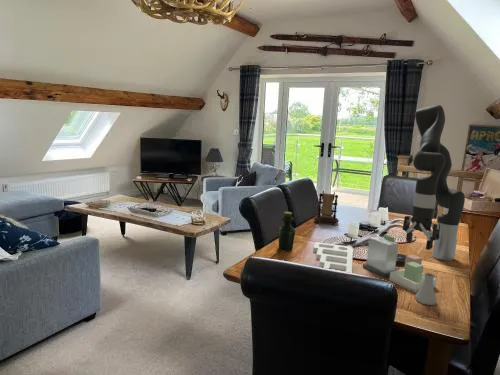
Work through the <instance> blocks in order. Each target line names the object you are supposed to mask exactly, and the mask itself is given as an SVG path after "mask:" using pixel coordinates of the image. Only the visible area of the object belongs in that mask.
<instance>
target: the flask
mask: <svg viewBox="0 0 500 375" xmlns="http://www.w3.org/2000/svg"><path fill="white" fill-rule="evenodd" d="M424 274H425V279H424V282H423V284H422V286H421V288H420V289H419V291H418V292H416V294H415V295H414V298H415V300H416V301H417V302H419V303H420V304H422V305H427V306H435V305H438V301H437V296H436V293H435V288H433V278H435V277H436V276H435V274H434V273H431V272H430V273H429V272H425V273H424Z"/></svg>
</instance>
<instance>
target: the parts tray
mask: <svg viewBox="0 0 500 375" xmlns="http://www.w3.org/2000/svg"><path fill="white" fill-rule="evenodd" d="M404 273H405V269H404V268H403V269H399V270H397V271H393V272H390V277H389V281H390V282H393V283H394V284H397V285H398V286H401V287H403V288H404V289H406V290H408V291H411V292H412V293H416V294H417V292H418V291H419V289H420V288H421V286H422V284H423V282H424V279H425V273H424V272H422V279H421V282H417V283H415V282H413V281H411V280H409V279H407V278H404ZM437 280H438V279H437V278H435V277H434V278H433V288H434V289H436V286H437Z"/></svg>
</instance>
